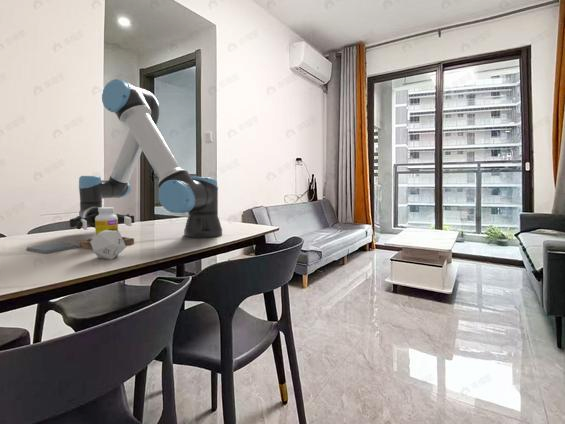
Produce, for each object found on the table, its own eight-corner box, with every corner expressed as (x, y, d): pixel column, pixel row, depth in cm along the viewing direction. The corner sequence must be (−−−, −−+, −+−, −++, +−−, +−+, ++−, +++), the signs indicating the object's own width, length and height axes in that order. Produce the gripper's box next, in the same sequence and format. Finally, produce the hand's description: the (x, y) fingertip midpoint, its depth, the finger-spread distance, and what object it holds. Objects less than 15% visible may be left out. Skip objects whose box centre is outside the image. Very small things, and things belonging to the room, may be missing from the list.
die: (92, 265, 83) (115, 237, 83) (77, 246, 87) (99, 219, 87) (117, 268, 91) (137, 242, 91) (102, 251, 94) (122, 225, 94)
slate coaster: (79, 247, 102) (79, 244, 102) (45, 253, 93) (45, 250, 93) (60, 244, 106) (60, 241, 106) (26, 249, 97) (26, 247, 97)
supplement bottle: (108, 248, 101) (107, 208, 100) (91, 246, 102) (89, 208, 101) (123, 243, 108) (121, 207, 106) (106, 242, 109) (104, 206, 107)
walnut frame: (134, 243, 108) (133, 238, 108) (103, 250, 97) (102, 244, 97) (111, 240, 112) (111, 235, 112) (79, 246, 102) (79, 240, 102)
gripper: (131, 224, 126) (148, 231, 110) (57, 229, 110) (64, 239, 94) (130, 205, 125) (147, 210, 109) (55, 209, 109) (62, 214, 93)
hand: (108, 223), depth 101 cm, fingers open, 12 cm apart
